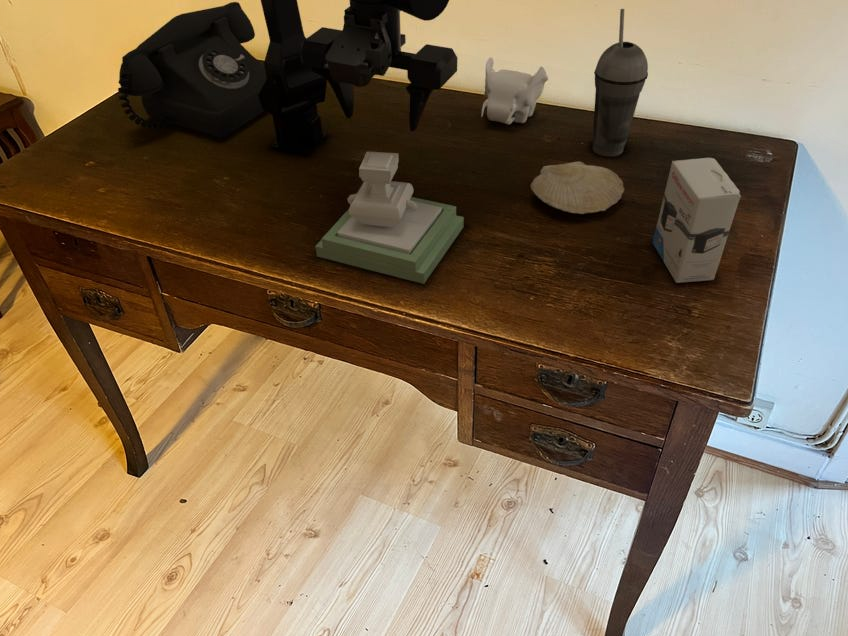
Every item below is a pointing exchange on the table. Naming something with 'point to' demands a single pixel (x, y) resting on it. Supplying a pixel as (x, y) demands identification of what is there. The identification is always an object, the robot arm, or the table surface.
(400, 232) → the square push button
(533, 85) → the elephant figurine
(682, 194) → the ink box
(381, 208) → the grey blocky piece
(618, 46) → the beverage cup
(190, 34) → the rotary telephone
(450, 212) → the scale
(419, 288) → the table surface
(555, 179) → the seashell
